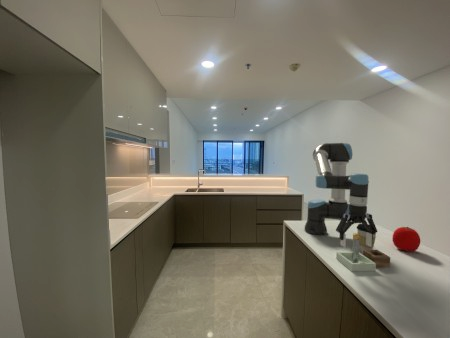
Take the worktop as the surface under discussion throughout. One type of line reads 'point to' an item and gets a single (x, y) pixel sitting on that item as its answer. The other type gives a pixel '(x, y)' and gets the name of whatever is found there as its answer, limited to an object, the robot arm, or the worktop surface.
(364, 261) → the tray
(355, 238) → the pin
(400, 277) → the worktop surface
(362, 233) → the coffee cup
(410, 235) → the tomato
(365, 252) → the socket block
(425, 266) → the worktop surface
